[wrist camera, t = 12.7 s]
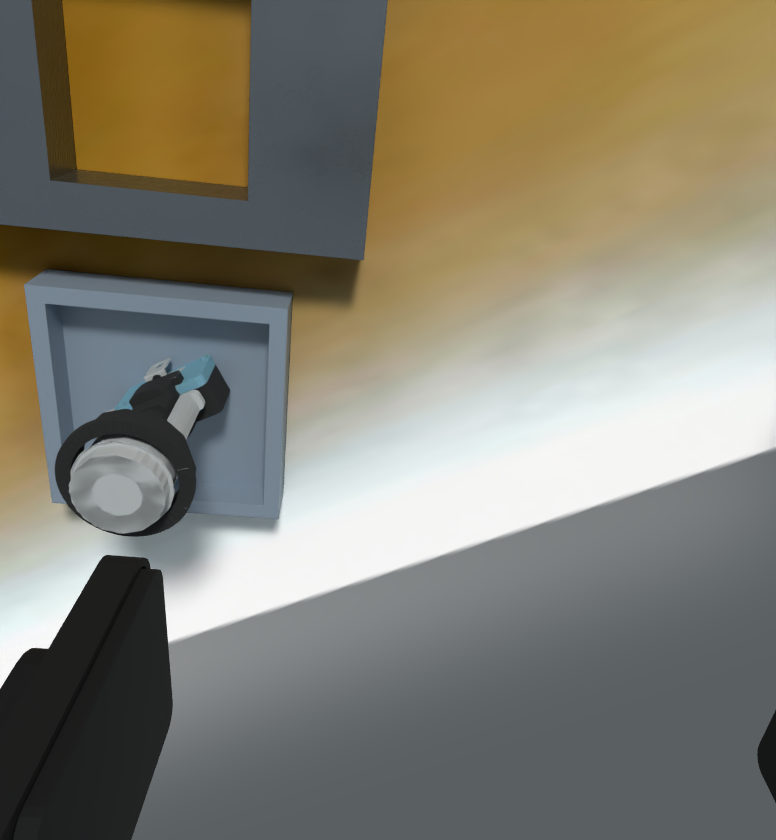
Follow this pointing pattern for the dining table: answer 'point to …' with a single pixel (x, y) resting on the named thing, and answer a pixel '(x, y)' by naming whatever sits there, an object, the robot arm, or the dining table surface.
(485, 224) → the dining table surface
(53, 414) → the tray
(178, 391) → the push button
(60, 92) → the block
